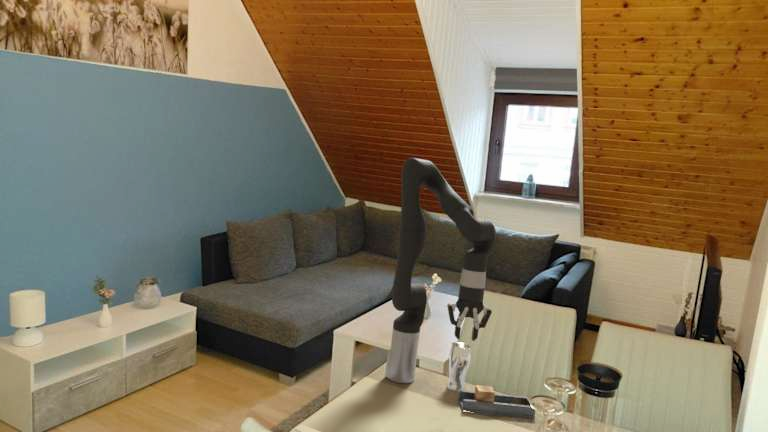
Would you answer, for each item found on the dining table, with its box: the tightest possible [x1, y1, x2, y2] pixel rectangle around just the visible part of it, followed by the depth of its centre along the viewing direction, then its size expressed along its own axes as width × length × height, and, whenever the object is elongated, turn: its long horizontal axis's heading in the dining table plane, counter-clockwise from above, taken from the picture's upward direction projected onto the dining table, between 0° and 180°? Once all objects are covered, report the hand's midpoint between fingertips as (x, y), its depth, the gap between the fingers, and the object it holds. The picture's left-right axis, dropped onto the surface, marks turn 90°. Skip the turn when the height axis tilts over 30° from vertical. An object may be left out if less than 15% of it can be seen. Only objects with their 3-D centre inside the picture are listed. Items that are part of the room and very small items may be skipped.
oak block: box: [474, 384, 496, 402], centre depth 169 cm, size 5×5×5 cm
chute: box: [457, 390, 536, 420], centre depth 169 cm, size 22×9×4 cm, turn 91°
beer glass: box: [446, 341, 472, 393], centre depth 183 cm, size 7×7×15 cm
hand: (465, 338), depth 167 cm, fingers open, 4 cm apart
